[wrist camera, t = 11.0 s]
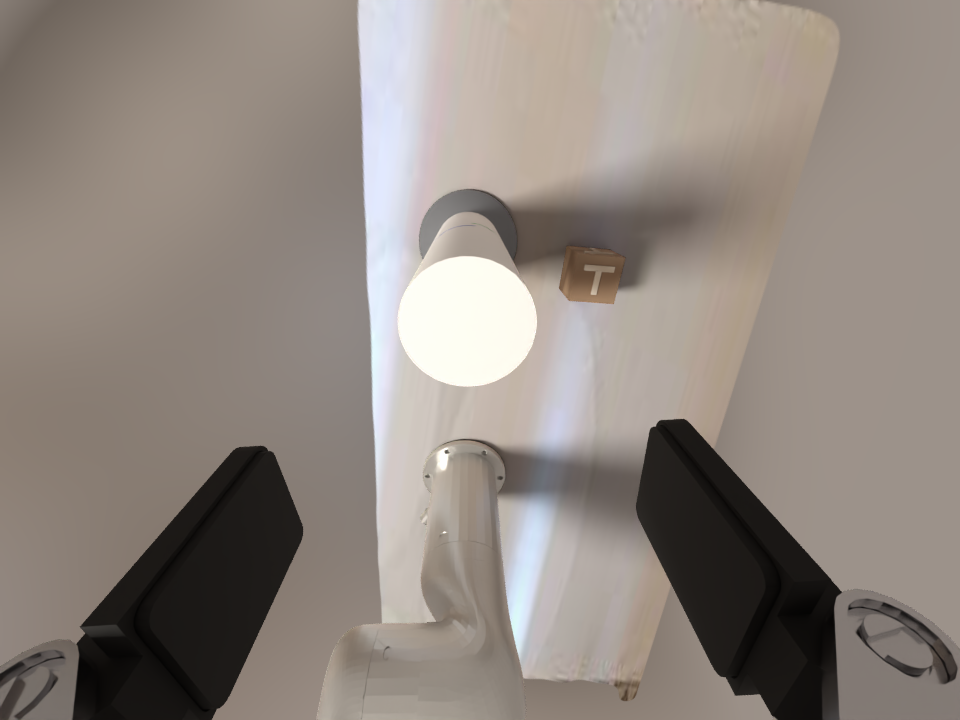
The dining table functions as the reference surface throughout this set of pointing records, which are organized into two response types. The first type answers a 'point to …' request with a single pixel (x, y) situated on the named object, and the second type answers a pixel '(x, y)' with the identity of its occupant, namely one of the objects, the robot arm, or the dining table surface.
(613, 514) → the dining table surface
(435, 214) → the charcoal mat
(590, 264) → the wooden letter cube
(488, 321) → the cylindrical container
